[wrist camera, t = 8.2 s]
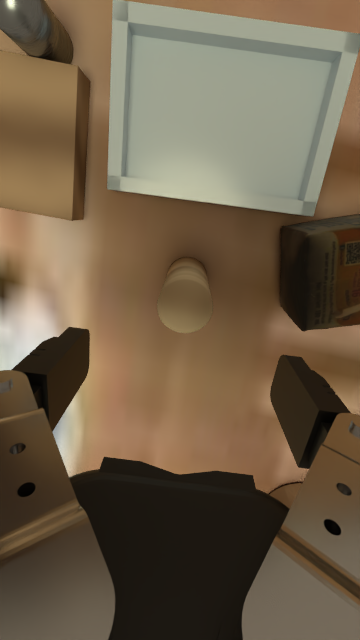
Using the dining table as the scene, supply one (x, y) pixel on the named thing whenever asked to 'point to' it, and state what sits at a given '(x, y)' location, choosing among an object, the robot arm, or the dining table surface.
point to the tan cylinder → (185, 297)
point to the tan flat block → (43, 136)
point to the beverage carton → (321, 272)
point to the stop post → (36, 30)
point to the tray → (224, 107)
